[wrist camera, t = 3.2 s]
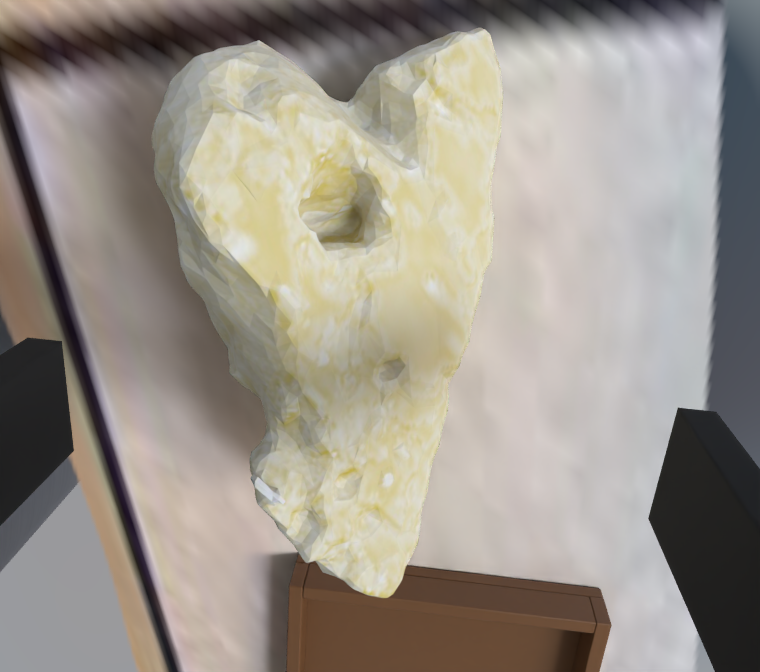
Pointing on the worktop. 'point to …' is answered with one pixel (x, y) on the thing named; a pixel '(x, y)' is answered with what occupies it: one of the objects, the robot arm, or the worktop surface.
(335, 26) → the worktop surface
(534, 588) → the holder
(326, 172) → the cheese
